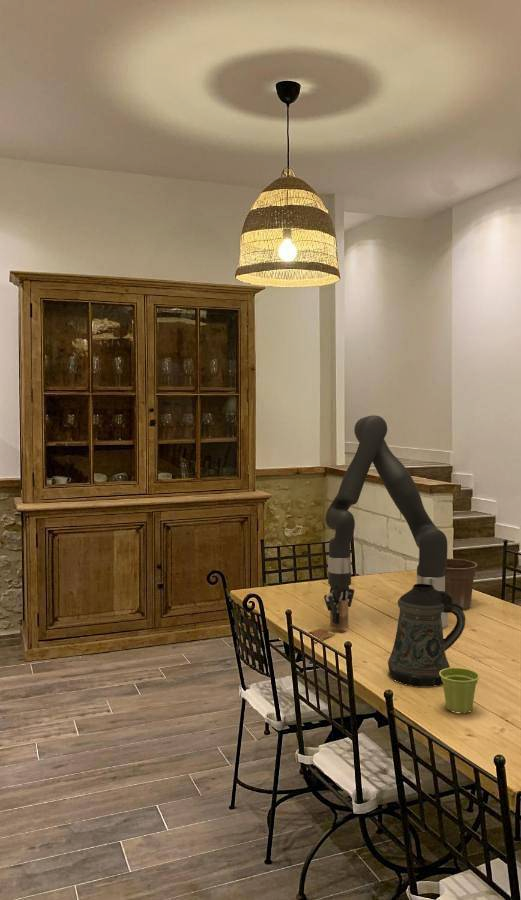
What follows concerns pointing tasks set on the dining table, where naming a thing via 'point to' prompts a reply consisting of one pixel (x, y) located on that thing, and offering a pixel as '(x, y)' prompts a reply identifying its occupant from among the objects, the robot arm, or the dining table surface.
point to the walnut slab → (341, 616)
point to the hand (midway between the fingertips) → (339, 622)
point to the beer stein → (423, 636)
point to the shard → (321, 634)
